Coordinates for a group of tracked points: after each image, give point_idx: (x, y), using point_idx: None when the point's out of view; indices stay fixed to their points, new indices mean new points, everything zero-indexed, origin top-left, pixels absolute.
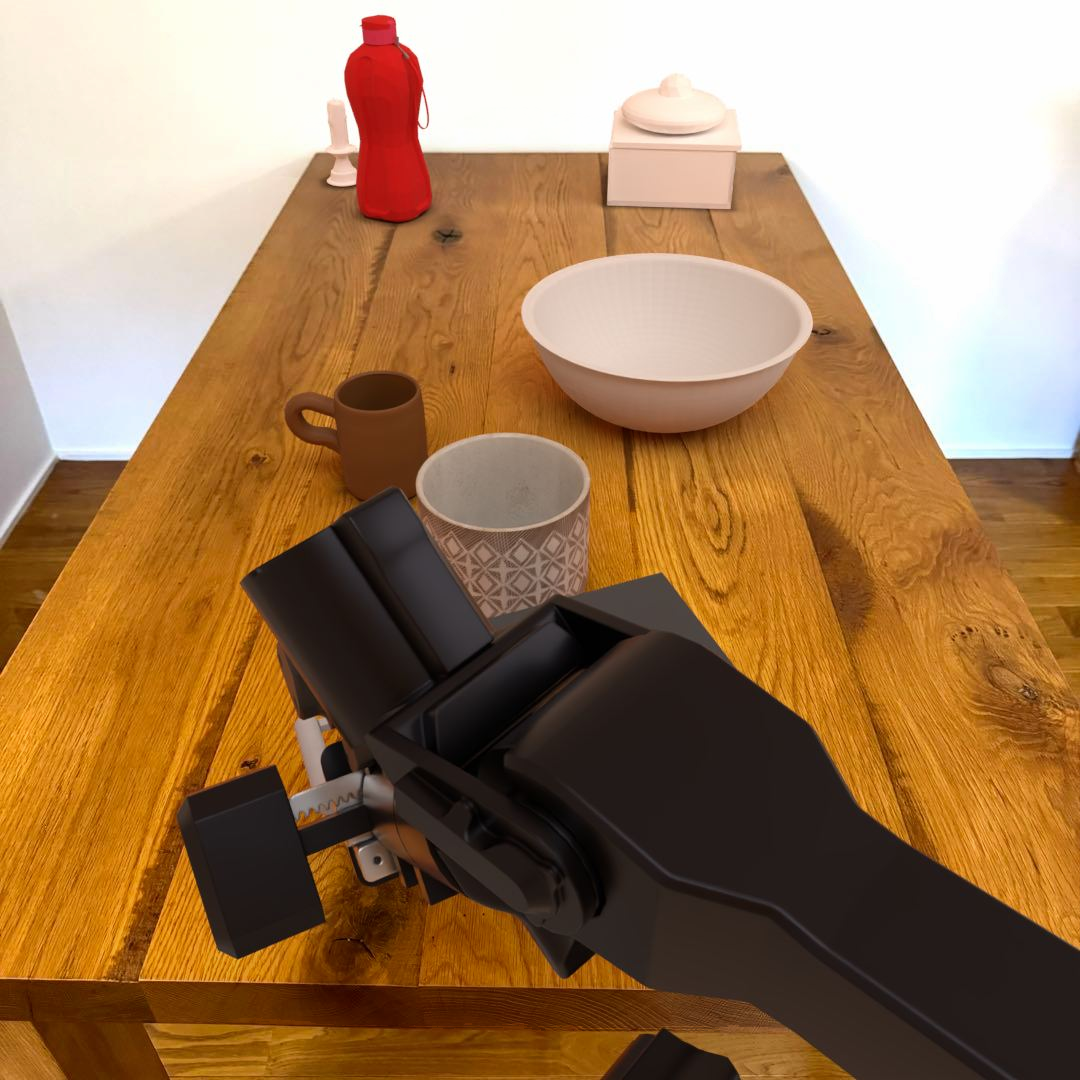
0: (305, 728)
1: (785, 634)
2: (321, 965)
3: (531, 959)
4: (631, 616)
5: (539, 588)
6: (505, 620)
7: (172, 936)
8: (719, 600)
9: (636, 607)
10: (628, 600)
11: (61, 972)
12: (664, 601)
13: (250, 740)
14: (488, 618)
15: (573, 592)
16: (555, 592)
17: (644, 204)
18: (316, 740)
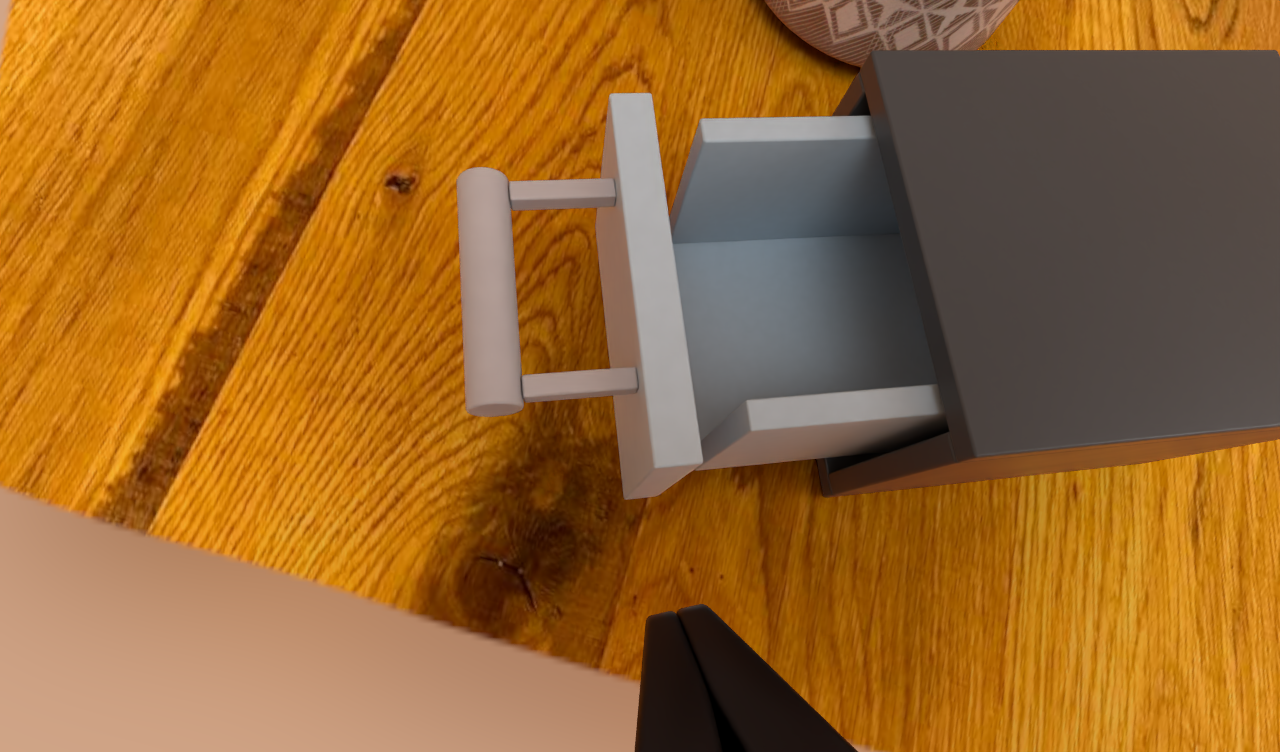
0: (476, 201)
1: None
2: (447, 600)
3: None
4: (1209, 140)
5: (961, 4)
6: (951, 67)
7: (214, 475)
8: None
9: (1220, 121)
10: (1206, 98)
11: (15, 491)
12: (1278, 124)
13: (409, 139)
14: (842, 34)
15: (991, 28)
16: (975, 20)
17: None
18: (494, 239)
